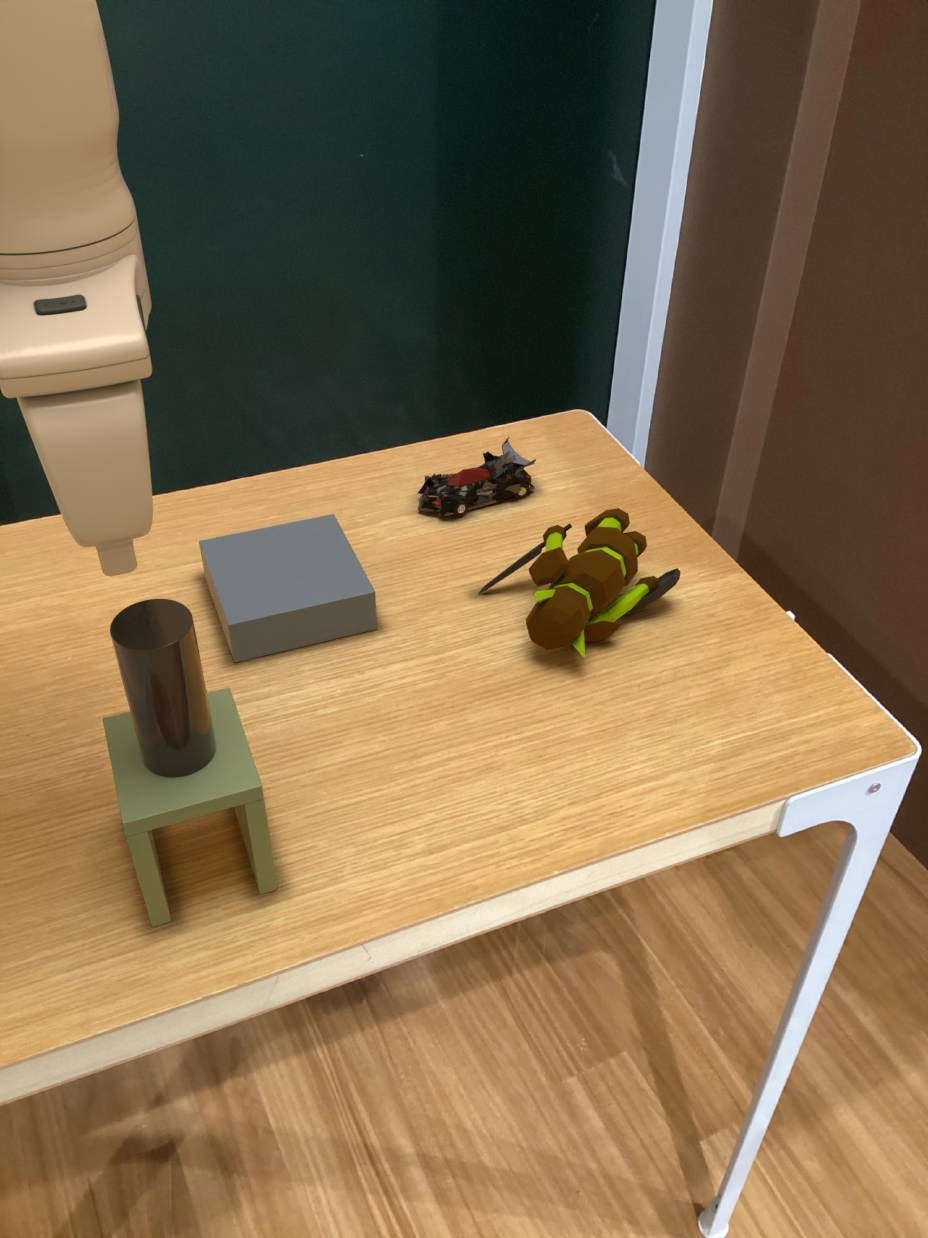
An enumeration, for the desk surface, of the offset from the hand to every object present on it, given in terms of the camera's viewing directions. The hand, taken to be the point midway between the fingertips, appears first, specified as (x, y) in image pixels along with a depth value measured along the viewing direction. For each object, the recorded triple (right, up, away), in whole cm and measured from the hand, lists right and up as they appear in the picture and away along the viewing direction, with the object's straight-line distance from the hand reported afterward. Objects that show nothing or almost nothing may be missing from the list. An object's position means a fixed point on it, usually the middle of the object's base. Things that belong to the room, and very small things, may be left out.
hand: (107, 520), depth 60 cm
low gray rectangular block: (+5, -4, +31) cm, 32 cm away
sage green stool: (+3, -21, +11) cm, 24 cm away
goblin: (+29, -5, +31) cm, 43 cm away
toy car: (+21, +6, +45) cm, 50 cm away
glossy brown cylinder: (+3, -14, +4) cm, 14 cm away
